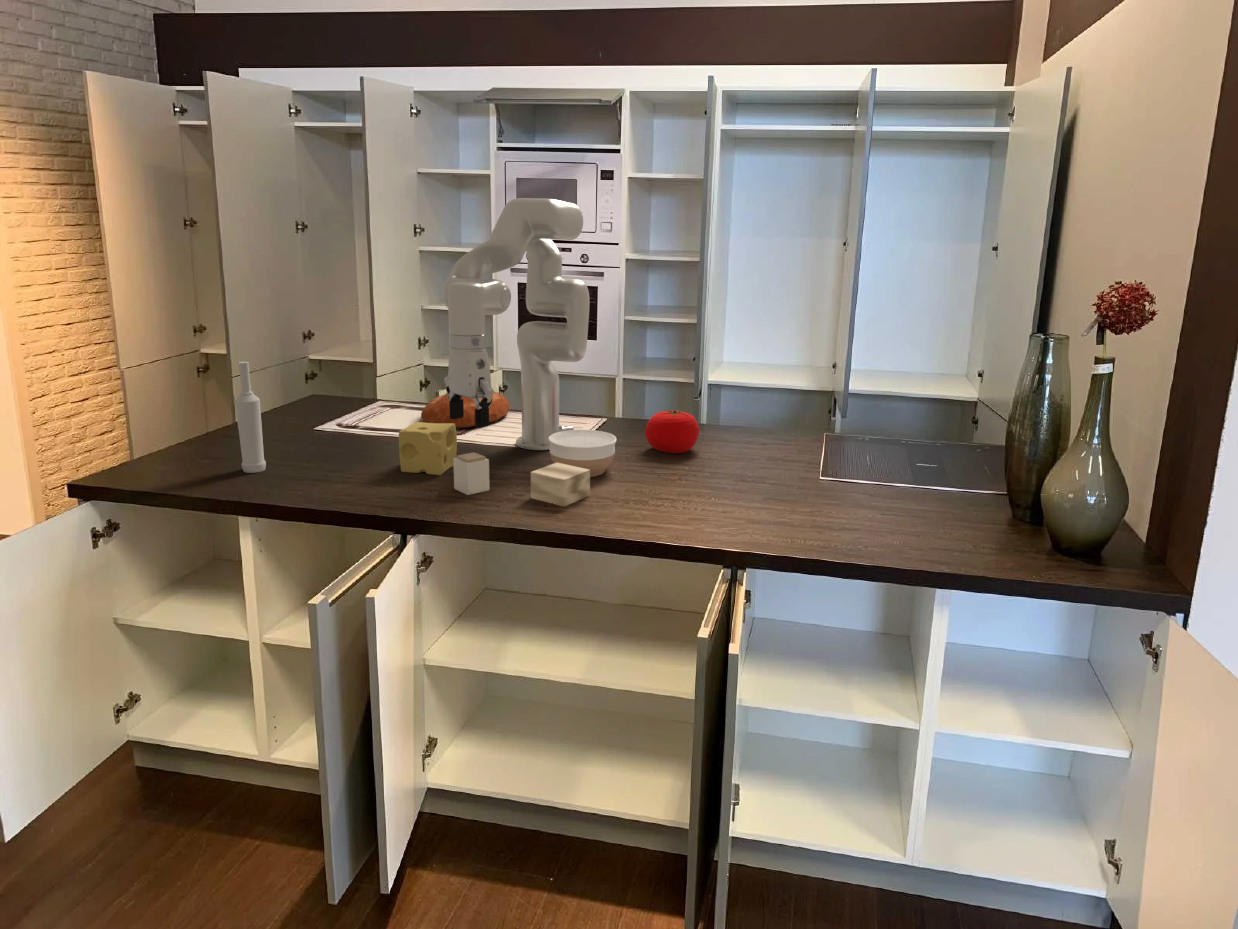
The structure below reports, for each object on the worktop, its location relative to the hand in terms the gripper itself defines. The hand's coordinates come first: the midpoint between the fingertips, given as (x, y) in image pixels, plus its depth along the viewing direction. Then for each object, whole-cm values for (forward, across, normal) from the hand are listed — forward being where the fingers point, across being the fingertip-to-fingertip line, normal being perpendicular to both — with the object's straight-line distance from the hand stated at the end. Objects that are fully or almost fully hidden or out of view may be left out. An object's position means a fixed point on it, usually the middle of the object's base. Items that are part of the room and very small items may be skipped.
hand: (469, 422), depth 193 cm
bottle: (+15, +43, +30) cm, 55 cm away
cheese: (+15, +20, -2) cm, 25 cm away
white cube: (+15, 0, 0) cm, 15 cm away
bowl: (+15, -4, -28) cm, 32 cm away
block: (+15, -16, -12) cm, 25 cm away
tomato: (+15, -5, -58) cm, 60 cm away
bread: (+15, +56, -35) cm, 68 cm away
